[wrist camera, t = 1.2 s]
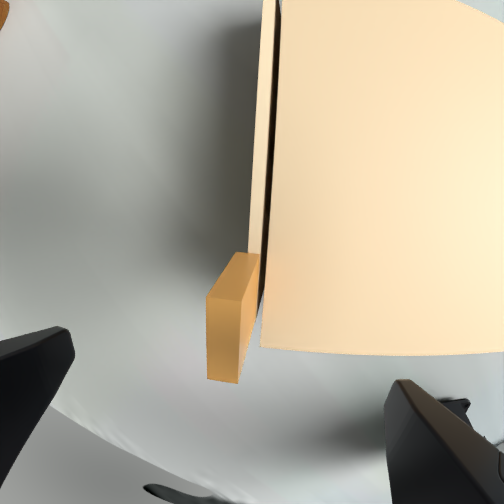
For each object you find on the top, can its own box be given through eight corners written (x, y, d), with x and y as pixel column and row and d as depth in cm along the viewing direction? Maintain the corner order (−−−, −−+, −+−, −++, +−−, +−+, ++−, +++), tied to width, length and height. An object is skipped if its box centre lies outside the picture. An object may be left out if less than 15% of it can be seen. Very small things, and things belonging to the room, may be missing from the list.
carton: (475, 305, 18) (519, 349, 12) (270, 291, 20) (259, 346, 14) (500, 72, 13) (552, 54, 7) (288, 19, 15) (283, -36, 9)
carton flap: (267, 274, 19) (237, 388, 9) (251, 272, 19) (207, 383, 9) (282, 31, 15) (265, -83, 5) (266, 30, 15) (234, -81, 5)
